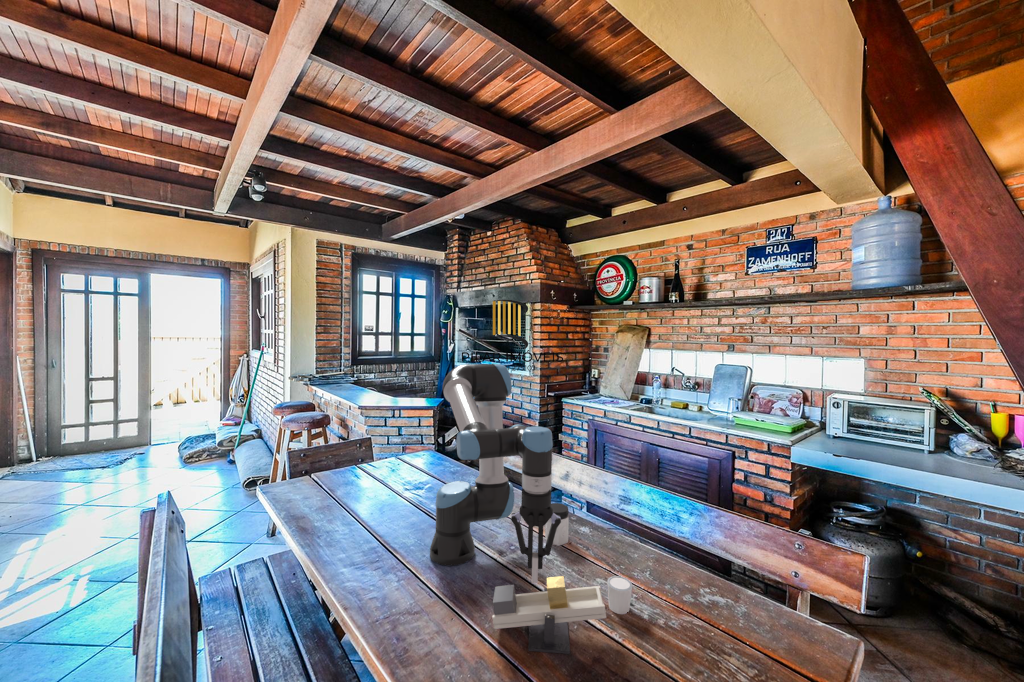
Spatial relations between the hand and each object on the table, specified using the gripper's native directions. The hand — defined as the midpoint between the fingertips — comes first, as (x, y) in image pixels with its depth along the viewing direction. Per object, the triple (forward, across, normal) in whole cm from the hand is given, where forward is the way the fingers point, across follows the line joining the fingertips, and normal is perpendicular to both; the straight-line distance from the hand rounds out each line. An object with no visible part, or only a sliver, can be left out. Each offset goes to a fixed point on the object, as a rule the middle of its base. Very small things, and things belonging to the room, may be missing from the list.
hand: (534, 580), depth 106 cm
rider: (+7, +6, 0) cm, 9 cm away
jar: (+13, +8, +46) cm, 49 cm away
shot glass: (+14, +24, +12) cm, 30 cm away
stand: (+13, +4, 0) cm, 14 cm away
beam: (+8, +4, 0) cm, 9 cm away
